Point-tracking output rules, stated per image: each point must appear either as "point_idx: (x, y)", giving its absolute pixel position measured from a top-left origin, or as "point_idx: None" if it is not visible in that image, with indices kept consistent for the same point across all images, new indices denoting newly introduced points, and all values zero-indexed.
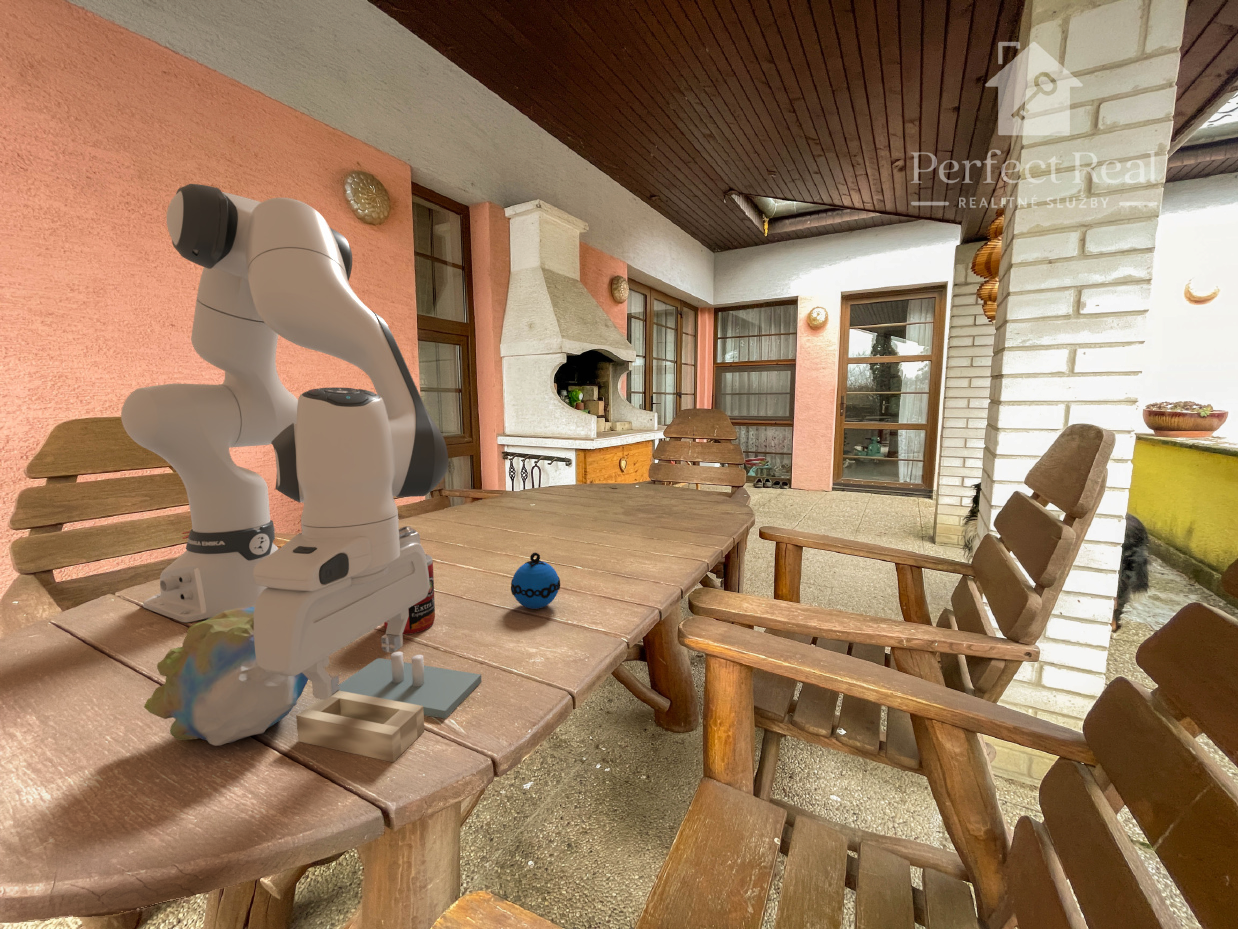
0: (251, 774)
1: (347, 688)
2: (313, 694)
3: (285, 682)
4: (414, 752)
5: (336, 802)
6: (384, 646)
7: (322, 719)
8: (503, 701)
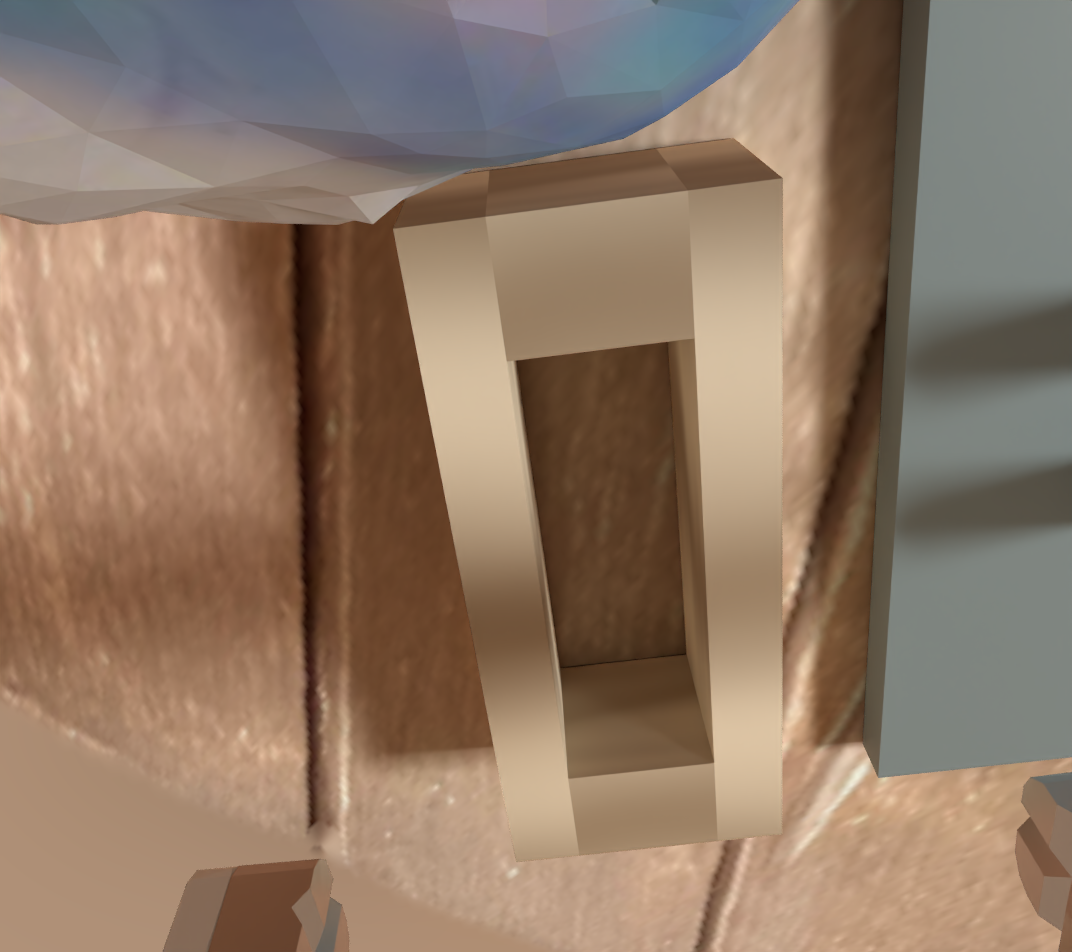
0: None
1: (985, 21)
2: (191, 879)
3: (319, 223)
4: None
5: (239, 720)
6: (1054, 834)
7: (447, 454)
8: None
